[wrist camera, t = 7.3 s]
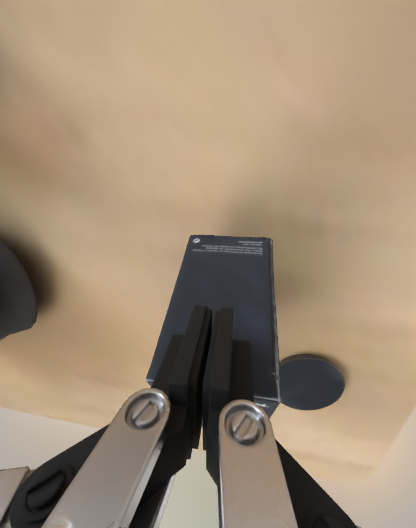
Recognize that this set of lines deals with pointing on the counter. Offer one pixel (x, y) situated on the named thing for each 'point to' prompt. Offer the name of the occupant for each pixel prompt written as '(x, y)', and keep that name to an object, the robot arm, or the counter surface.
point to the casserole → (15, 295)
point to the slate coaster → (310, 382)
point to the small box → (230, 303)
